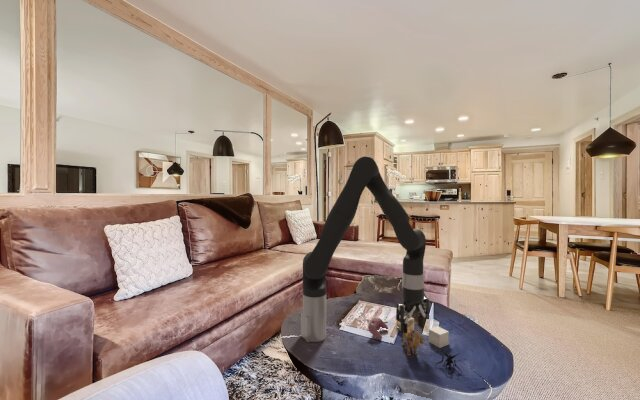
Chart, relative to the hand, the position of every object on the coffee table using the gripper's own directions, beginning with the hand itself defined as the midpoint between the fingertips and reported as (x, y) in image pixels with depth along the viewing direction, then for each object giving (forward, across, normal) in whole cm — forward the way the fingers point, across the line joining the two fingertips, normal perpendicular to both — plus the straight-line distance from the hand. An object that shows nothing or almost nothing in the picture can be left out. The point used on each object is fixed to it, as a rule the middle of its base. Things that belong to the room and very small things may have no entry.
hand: (412, 329), depth 104 cm
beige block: (+8, +12, -1) cm, 15 cm away
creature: (+8, +1, -14) cm, 16 cm away
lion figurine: (+8, 0, +1) cm, 8 cm away
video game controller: (+8, -3, +15) cm, 17 cm away
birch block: (+8, +10, +13) cm, 18 cm away
